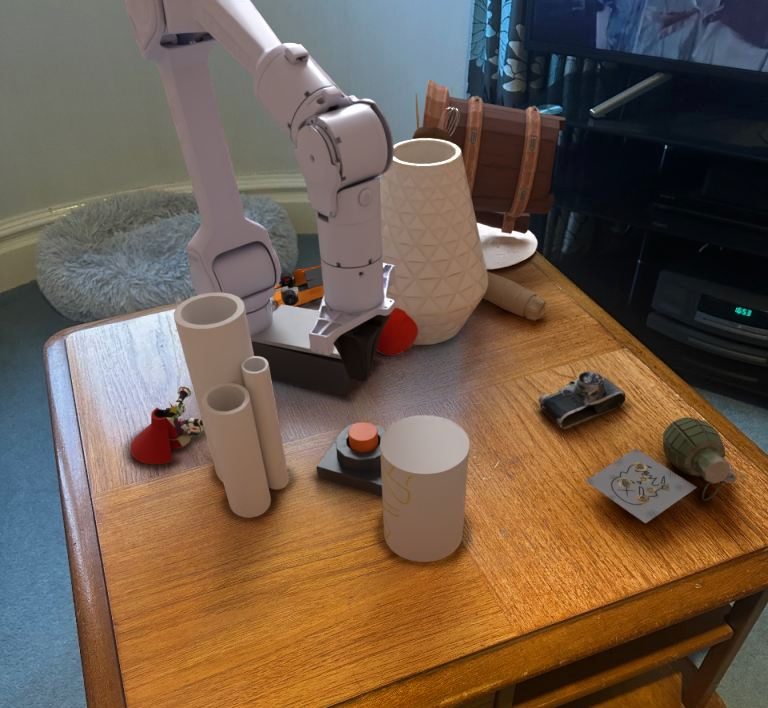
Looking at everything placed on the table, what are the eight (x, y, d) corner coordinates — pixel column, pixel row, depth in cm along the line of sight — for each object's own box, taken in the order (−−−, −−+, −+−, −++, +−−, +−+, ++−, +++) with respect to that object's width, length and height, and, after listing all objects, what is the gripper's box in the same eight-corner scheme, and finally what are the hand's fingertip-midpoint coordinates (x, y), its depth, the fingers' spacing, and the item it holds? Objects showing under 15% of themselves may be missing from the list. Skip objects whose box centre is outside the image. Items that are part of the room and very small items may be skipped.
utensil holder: (444, 181, 92) (462, 89, 92) (396, 173, 93) (414, 82, 93) (445, 201, 98) (462, 115, 98) (400, 194, 99) (417, 108, 99)
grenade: (688, 470, 84) (728, 515, 76) (638, 446, 82) (674, 490, 74) (724, 425, 81) (770, 467, 73) (674, 399, 79) (715, 439, 71)
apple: (384, 321, 102) (382, 270, 97) (436, 340, 99) (437, 288, 93) (345, 351, 98) (341, 299, 92) (399, 372, 94) (398, 319, 88)
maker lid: (377, 325, 91) (377, 320, 90) (348, 360, 86) (347, 356, 85) (282, 308, 96) (281, 304, 95) (248, 341, 90) (247, 336, 90)
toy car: (305, 248, 111) (310, 267, 113) (255, 291, 105) (262, 310, 108) (367, 260, 105) (371, 280, 108) (319, 306, 100) (324, 326, 102)
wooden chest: (407, 264, 115) (532, 279, 115) (419, 146, 94) (571, 164, 94) (418, 177, 122) (536, 190, 122) (431, 48, 100) (574, 64, 100)
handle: (526, 318, 98) (438, 275, 103) (536, 333, 103) (452, 291, 109) (545, 287, 97) (456, 245, 103) (554, 303, 103) (469, 263, 108)
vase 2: (406, 281, 110) (405, 116, 93) (507, 314, 102) (525, 142, 86) (335, 333, 100) (320, 161, 84) (441, 374, 93) (447, 194, 76)
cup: (380, 506, 77) (376, 418, 68) (456, 500, 77) (461, 412, 69) (387, 565, 71) (384, 477, 63) (468, 558, 72) (476, 470, 63)
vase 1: (208, 458, 83) (165, 303, 69) (268, 440, 85) (238, 285, 71) (237, 523, 76) (195, 364, 61) (301, 501, 78) (275, 342, 63)
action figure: (228, 441, 85) (219, 404, 81) (151, 479, 81) (137, 442, 77) (192, 405, 90) (182, 368, 86) (117, 438, 86) (103, 402, 82)
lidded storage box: (375, 363, 95) (373, 328, 92) (346, 399, 90) (343, 364, 86) (287, 342, 99) (282, 308, 96) (255, 375, 94) (248, 341, 90)
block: (317, 477, 80) (314, 453, 78) (349, 434, 85) (347, 411, 83) (382, 496, 78) (381, 473, 75) (411, 451, 83) (411, 428, 80)
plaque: (396, 228, 122) (396, 219, 121) (501, 209, 127) (502, 200, 126) (444, 285, 110) (444, 276, 108) (559, 262, 114) (561, 253, 113)
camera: (532, 409, 88) (536, 380, 85) (599, 384, 91) (605, 355, 88) (557, 432, 84) (563, 403, 81) (626, 405, 88) (634, 377, 85)
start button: (344, 448, 79) (343, 436, 78) (357, 431, 81) (356, 419, 80) (370, 456, 78) (369, 443, 77) (382, 438, 80) (382, 426, 79)
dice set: (638, 460, 78) (635, 473, 79) (606, 481, 76) (603, 494, 77) (677, 485, 75) (673, 498, 76) (644, 507, 73) (641, 520, 74)
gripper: (354, 299, 60) (363, 426, 70) (422, 227, 69) (421, 348, 79) (282, 284, 62) (300, 408, 72) (357, 215, 71) (364, 335, 81)
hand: (359, 376), depth 76 cm, fingers closed
